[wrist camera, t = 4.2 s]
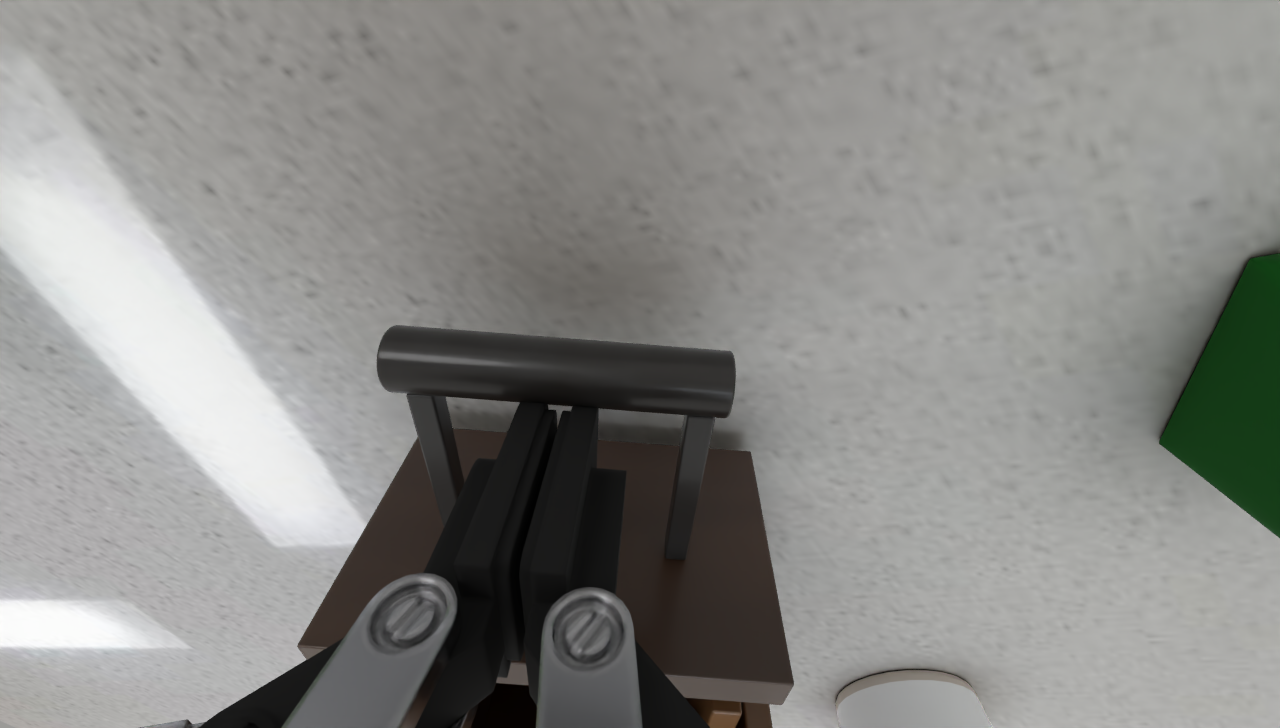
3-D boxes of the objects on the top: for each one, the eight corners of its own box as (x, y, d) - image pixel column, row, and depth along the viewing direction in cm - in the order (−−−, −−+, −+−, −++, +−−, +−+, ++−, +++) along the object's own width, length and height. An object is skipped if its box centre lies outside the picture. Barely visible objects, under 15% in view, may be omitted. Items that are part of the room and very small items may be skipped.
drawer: (374, 241, 13) (136, 433, 7) (800, 274, 13) (908, 494, 7) (480, 638, 26) (426, 821, 20) (694, 654, 26) (701, 842, 20)
